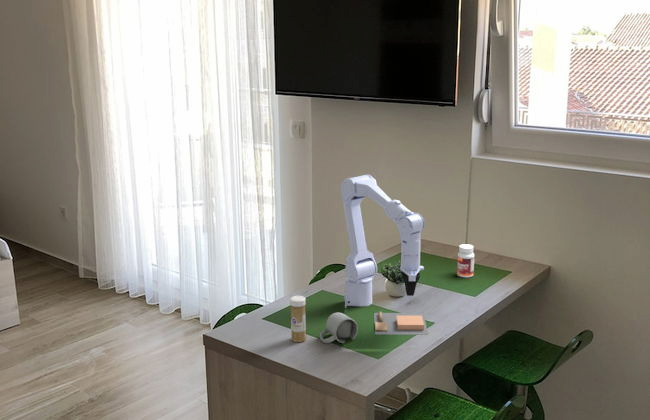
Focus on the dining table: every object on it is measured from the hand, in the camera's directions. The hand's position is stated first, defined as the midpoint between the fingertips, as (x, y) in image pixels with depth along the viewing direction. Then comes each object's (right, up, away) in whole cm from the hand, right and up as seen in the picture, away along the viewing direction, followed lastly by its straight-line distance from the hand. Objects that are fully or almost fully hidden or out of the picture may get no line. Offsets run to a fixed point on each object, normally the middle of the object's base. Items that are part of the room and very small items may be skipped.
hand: (410, 294), depth 214 cm
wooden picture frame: (0, -8, +4) cm, 9 cm away
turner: (-9, -10, +4) cm, 14 cm away
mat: (-3, -10, +3) cm, 11 cm away
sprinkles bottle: (-34, -13, -5) cm, 37 cm away
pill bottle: (+26, +2, +45) cm, 52 cm away
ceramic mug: (-23, -13, -5) cm, 27 cm away
